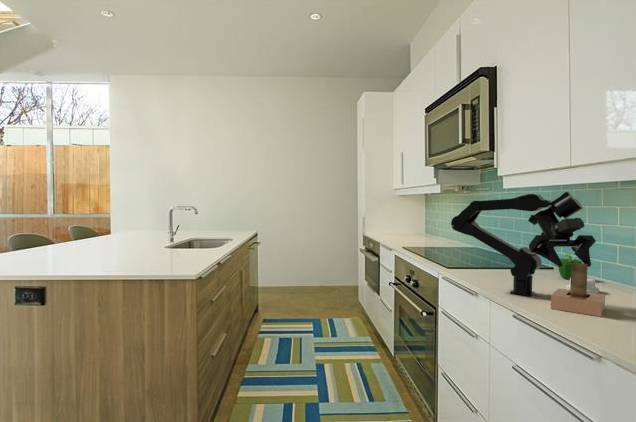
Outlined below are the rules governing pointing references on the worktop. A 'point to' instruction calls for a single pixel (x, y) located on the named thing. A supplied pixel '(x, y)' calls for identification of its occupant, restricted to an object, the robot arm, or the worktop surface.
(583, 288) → the pin
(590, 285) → the mechanical component
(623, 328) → the worktop surface
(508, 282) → the worktop surface
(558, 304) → the hollow square frame
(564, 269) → the bell pepper
